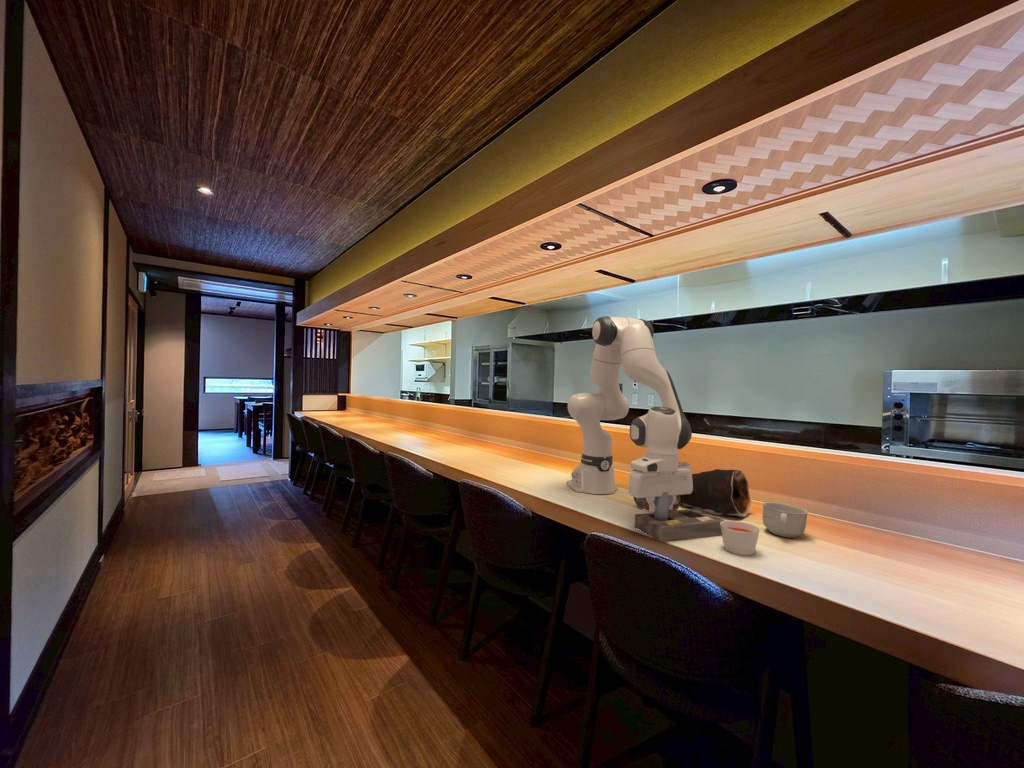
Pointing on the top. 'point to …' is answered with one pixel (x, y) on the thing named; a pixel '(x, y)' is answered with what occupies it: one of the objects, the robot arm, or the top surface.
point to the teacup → (784, 519)
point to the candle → (739, 537)
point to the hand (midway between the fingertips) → (660, 510)
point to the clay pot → (719, 493)
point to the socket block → (679, 525)
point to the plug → (662, 507)
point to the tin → (644, 504)
